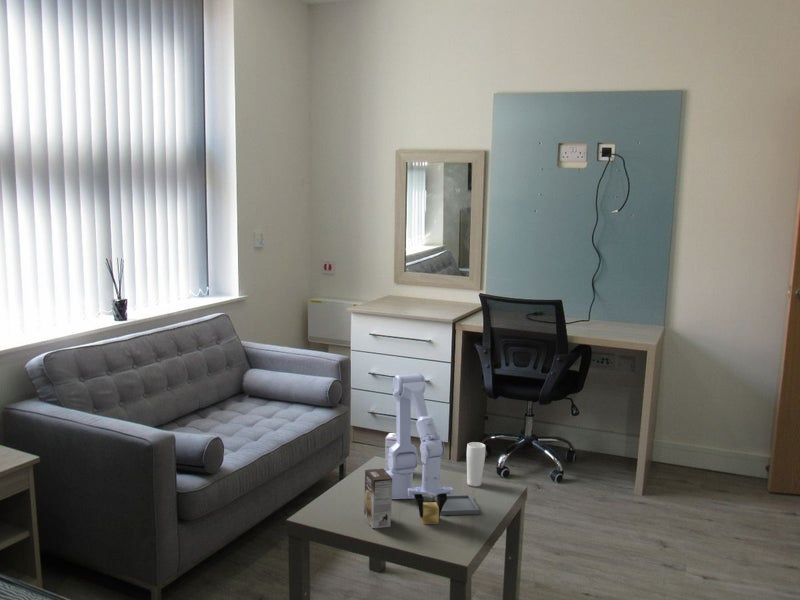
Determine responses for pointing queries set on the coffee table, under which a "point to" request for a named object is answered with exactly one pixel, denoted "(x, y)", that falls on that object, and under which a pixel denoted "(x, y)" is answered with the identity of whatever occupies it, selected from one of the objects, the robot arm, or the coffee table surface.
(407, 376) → the robot arm
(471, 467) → the drinking glass
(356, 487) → the coffee table surface
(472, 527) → the coffee table surface
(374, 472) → the coffee box
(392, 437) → the syrup box
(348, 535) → the coffee table surface
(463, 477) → the coffee table surface
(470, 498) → the tray
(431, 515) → the cube
